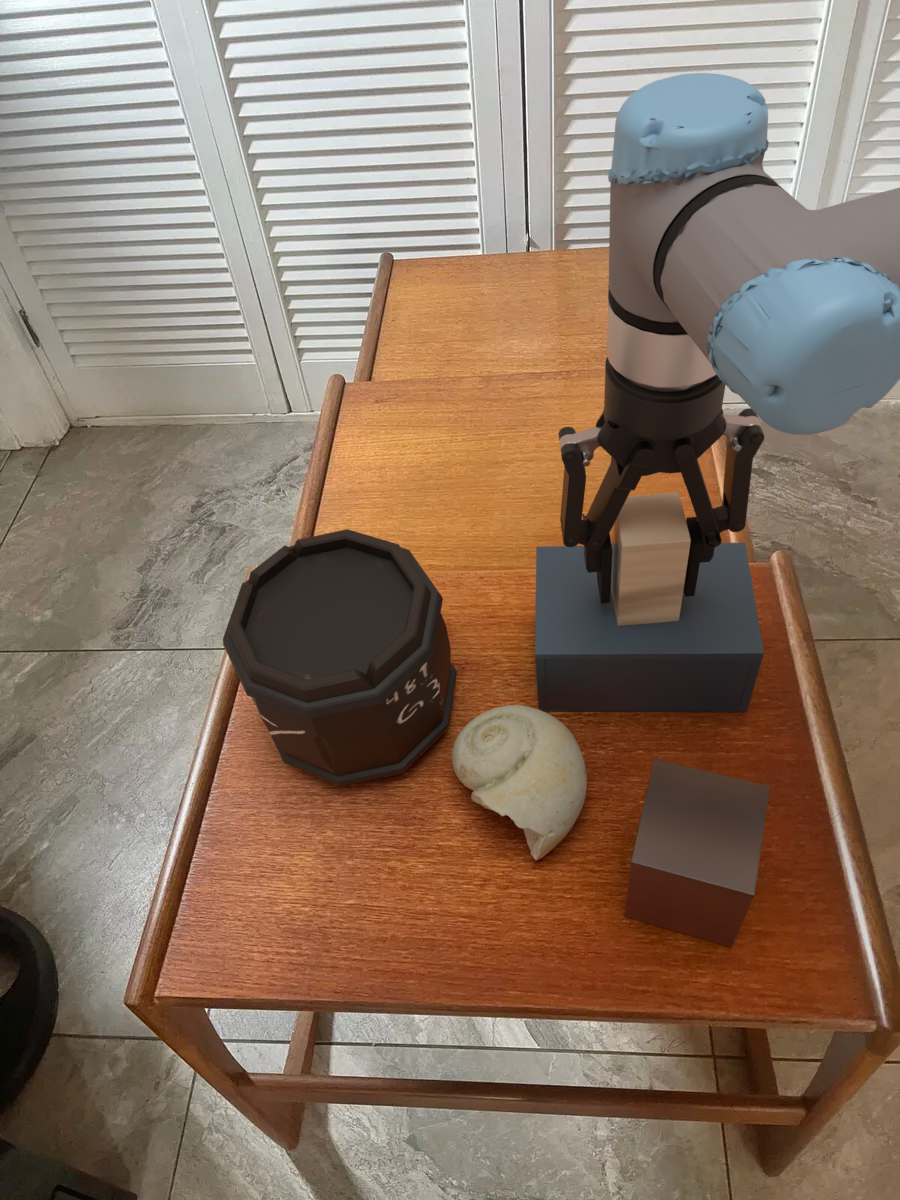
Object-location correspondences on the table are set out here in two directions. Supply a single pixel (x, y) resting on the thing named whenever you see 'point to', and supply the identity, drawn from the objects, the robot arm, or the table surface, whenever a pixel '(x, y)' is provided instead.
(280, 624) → the octagonal dark pot
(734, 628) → the lid
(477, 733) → the seashell
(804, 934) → the table surface
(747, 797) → the plinth
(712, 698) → the chest
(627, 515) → the block
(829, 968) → the table surface
